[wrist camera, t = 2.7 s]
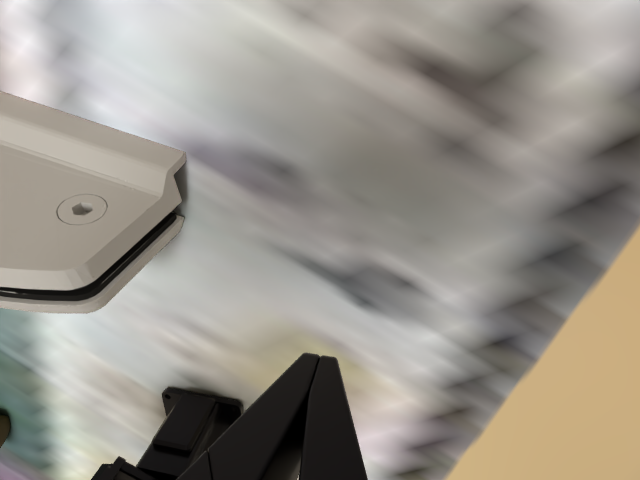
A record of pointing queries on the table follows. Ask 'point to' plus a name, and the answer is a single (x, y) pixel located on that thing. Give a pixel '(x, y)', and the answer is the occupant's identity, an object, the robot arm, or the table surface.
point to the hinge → (78, 208)
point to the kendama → (4, 428)
